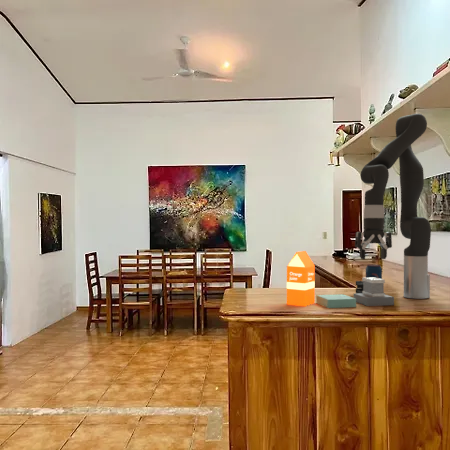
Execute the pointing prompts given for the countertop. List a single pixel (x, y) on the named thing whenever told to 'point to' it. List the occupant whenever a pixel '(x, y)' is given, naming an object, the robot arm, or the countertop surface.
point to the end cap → (359, 286)
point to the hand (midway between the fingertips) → (373, 259)
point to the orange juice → (300, 280)
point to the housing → (373, 287)
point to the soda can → (374, 271)
